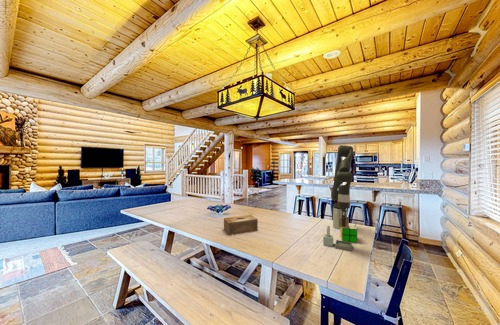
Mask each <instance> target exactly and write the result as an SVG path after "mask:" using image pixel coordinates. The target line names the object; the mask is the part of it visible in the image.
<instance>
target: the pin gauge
mask: <svg viewBox="0 0 500 325" xmlns="http://www.w3.org/2000/svg"><path fill="white" fill-rule="evenodd" d="M330 230H331V228H330V225H327V226H326V234H327V237H330V235H331V234H330Z"/></svg>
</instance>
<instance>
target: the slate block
mask: <svg viewBox="0 0 500 325" xmlns="http://www.w3.org/2000/svg"><path fill="white" fill-rule="evenodd" d="M322 245H323V246H327V247H331V248H333V247H334V246H333V245H334V235H333V234H330V237H327V233H324V234H323V244H322Z"/></svg>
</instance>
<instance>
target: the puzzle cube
mask: <svg viewBox="0 0 500 325" xmlns="http://www.w3.org/2000/svg"><path fill="white" fill-rule="evenodd" d="M339 230H340V232H339V233H340V238H341V239H340V240H341V241H346V242H352V243H356V244H357V243H358V228H356V225H354V224H349V228H342V227H340V229H339Z"/></svg>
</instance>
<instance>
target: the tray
mask: <svg viewBox="0 0 500 325" xmlns="http://www.w3.org/2000/svg"><path fill="white" fill-rule="evenodd" d="M352 243H353V242H346V241H342V240H341V239H340V240H338V239H335V246H334V247H335V248H334V249H338V250H343V251H349V252H352V251H353V246H352Z"/></svg>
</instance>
